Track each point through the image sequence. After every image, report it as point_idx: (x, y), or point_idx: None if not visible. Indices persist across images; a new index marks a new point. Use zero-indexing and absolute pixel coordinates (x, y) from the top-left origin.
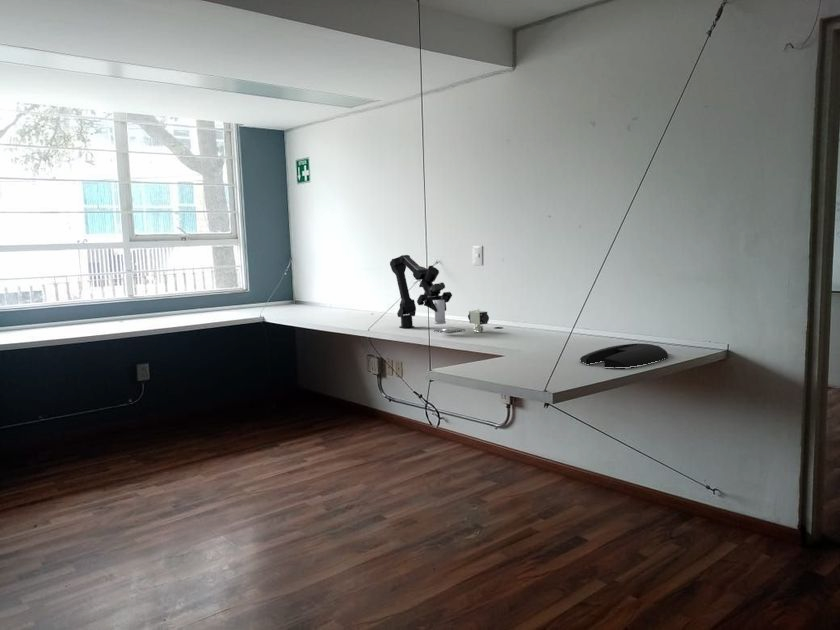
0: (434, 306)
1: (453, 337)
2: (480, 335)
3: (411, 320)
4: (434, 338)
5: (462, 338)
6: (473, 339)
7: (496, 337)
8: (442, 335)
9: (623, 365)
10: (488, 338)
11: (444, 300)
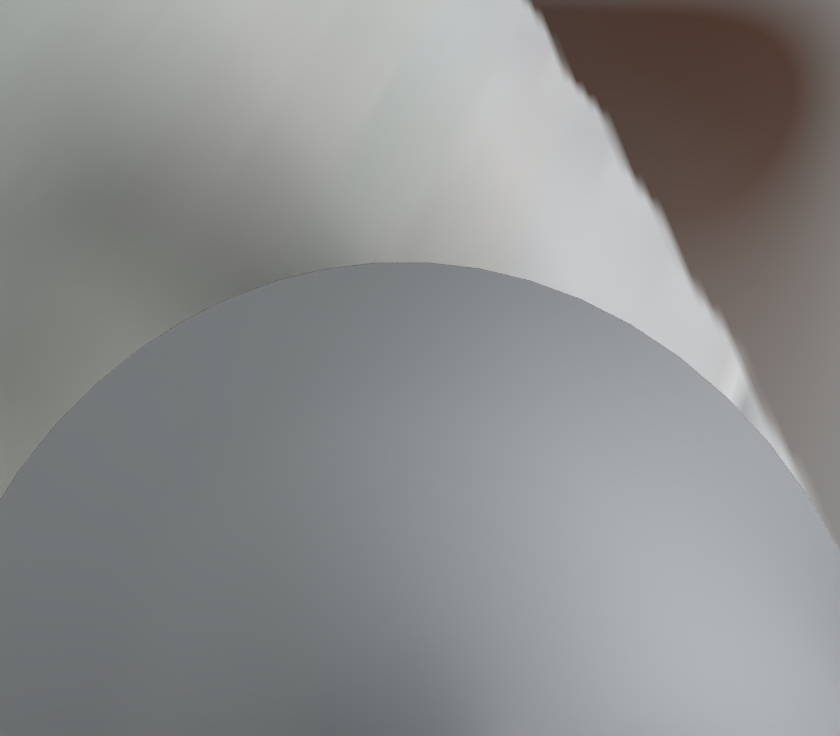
0: None
1: None
2: (82, 235)
3: None
4: (683, 334)
5: (361, 157)
6: (295, 51)
7: (45, 49)
8: None
9: None
10: (141, 36)
11: (58, 450)
